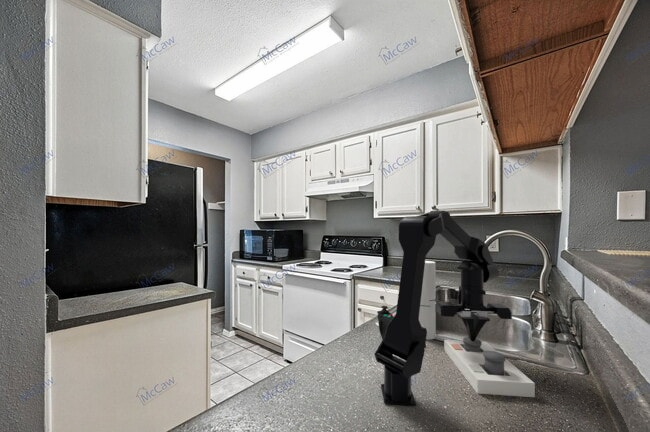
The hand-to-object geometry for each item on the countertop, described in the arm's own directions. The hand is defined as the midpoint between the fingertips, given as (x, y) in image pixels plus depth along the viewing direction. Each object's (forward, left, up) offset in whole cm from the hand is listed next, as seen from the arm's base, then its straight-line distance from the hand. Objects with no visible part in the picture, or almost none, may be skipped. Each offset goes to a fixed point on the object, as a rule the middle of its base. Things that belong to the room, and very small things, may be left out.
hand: (472, 340), depth 79 cm
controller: (+10, +22, -5) cm, 25 cm away
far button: (0, 0, -5) cm, 5 cm away
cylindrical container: (+16, +9, -5) cm, 19 cm away
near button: (-12, 0, -3) cm, 12 cm away
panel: (-6, 0, -5) cm, 8 cm away
